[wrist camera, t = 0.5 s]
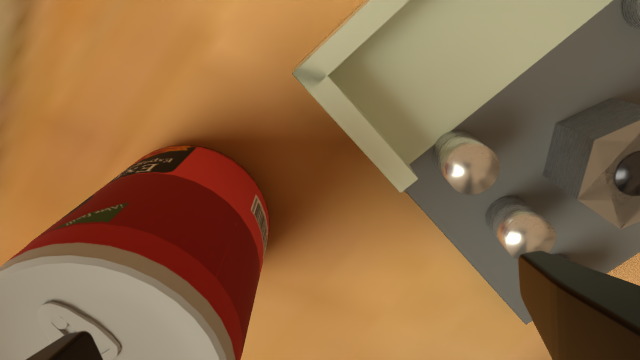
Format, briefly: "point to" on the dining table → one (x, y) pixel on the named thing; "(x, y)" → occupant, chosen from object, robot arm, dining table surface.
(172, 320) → the canned food
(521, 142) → the mat
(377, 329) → the dining table surface
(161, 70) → the dining table surface
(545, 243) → the standoffs
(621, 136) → the steel nut
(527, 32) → the parts tray
